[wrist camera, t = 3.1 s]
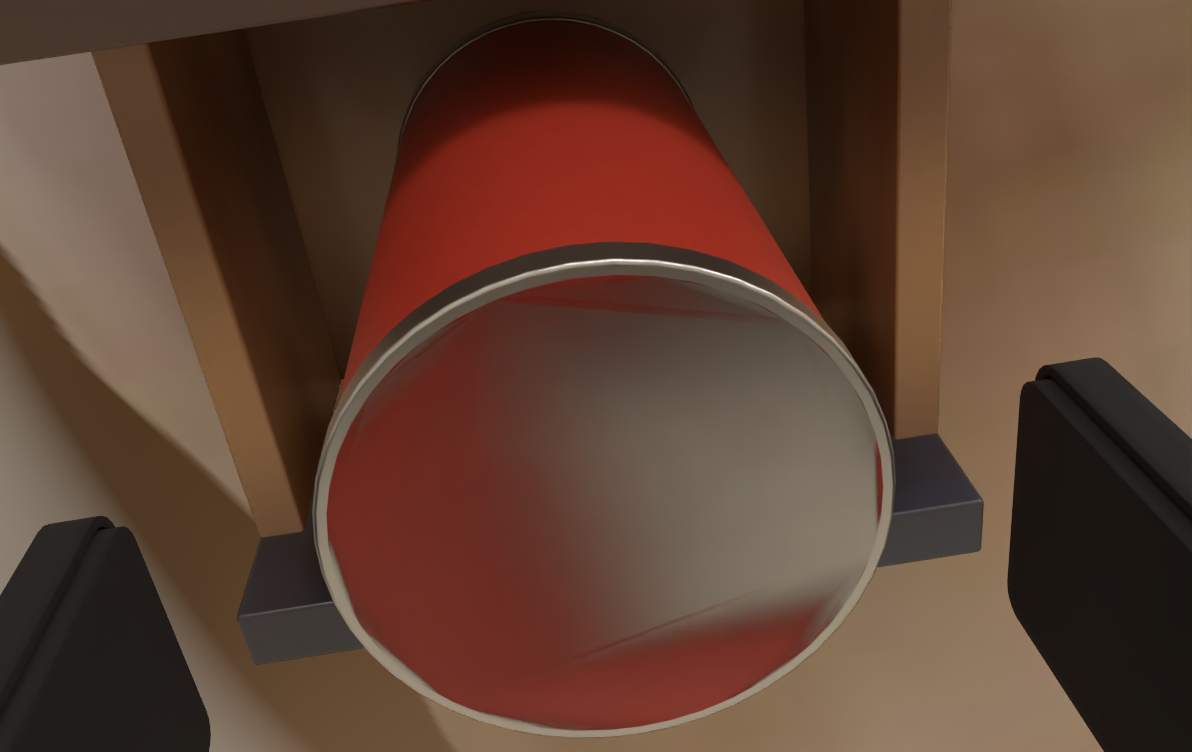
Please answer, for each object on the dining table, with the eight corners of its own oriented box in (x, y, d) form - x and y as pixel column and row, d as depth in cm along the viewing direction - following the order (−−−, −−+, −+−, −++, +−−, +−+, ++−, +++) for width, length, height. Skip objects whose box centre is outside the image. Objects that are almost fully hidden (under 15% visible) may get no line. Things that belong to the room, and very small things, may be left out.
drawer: (869, 520, 28) (972, 721, 22) (350, 601, 28) (313, 826, 22) (865, -417, 19) (1047, -511, 13) (71, -303, 18) (-132, -342, 12)
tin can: (366, 37, 20) (236, 315, 10) (688, -12, 20) (900, 213, 10) (431, 326, 23) (385, 776, 13) (712, 283, 23) (894, 694, 13)
